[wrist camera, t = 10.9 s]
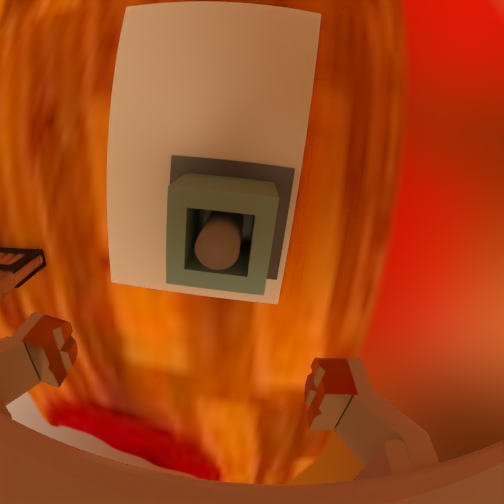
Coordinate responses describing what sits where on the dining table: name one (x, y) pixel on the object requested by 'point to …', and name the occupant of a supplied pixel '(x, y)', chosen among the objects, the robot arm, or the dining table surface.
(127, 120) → the post board
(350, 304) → the dining table surface
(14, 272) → the ammunition clip
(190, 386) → the dining table surface
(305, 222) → the dining table surface
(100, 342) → the dining table surface
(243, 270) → the collar
